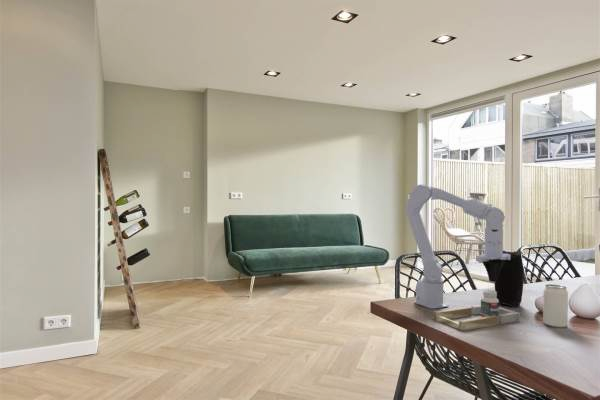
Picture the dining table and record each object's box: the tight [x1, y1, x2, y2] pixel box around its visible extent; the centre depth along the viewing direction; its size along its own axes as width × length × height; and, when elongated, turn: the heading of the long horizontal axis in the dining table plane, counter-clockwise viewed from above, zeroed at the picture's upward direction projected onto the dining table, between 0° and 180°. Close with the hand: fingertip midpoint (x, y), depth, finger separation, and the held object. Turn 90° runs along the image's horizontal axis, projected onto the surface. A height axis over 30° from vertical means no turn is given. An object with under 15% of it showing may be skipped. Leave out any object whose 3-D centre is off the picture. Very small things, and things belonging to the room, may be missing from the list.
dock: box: [470, 304, 520, 325], centre depth 134 cm, size 12×8×2 cm, turn 25°
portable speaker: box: [494, 250, 524, 309], centre depth 150 cm, size 9×9×20 cm
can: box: [542, 283, 569, 329], centre depth 127 cm, size 6×6×12 cm
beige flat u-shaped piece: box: [433, 306, 500, 331], centre depth 129 cm, size 12×15×2 cm
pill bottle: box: [480, 289, 500, 317], centre depth 132 cm, size 5×5×9 cm
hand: (493, 281), depth 141 cm, fingers closed
